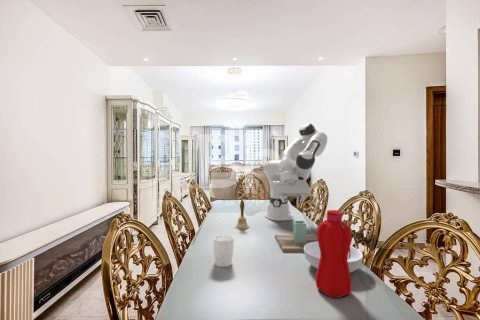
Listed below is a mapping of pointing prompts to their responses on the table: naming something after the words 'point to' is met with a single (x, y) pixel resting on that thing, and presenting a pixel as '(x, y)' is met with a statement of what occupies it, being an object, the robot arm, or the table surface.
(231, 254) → the white cup
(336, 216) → the water bottle
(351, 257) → the serving bowl
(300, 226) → the sleeve
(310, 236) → the board
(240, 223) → the hand bell
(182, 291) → the table surface
